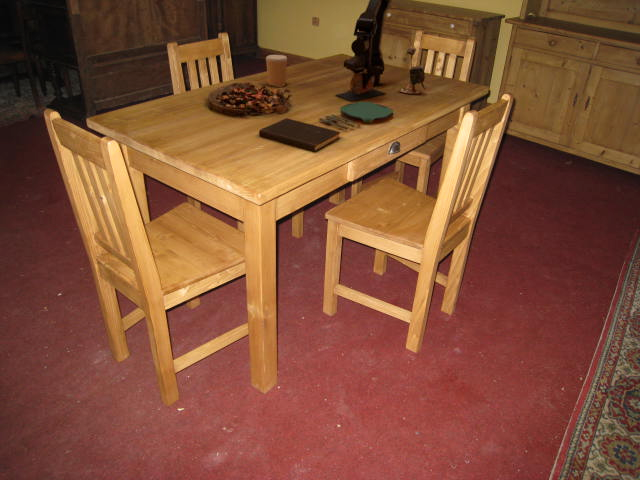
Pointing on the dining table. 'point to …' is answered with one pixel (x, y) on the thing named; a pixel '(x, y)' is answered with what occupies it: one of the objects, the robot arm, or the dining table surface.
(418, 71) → the plant with pod
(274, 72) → the glass of beer
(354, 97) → the placemat
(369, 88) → the tin
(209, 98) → the food dish
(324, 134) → the hardcover book
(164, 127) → the dining table surface
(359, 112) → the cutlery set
